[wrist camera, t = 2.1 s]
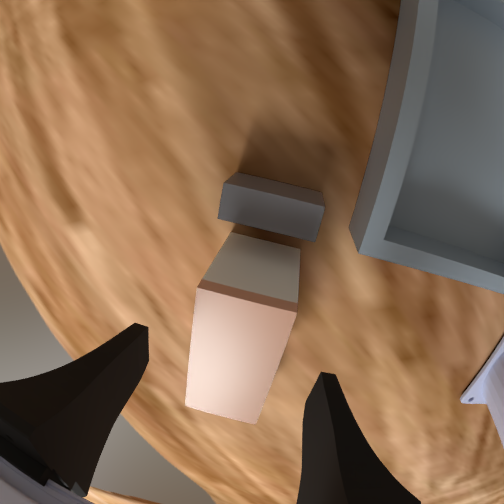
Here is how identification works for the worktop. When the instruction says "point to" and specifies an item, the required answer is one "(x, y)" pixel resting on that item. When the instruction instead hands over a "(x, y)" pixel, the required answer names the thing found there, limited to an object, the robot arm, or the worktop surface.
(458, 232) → the tray
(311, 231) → the grey blocks
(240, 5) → the worktop surface
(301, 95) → the worktop surface
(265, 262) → the pink and gray block
